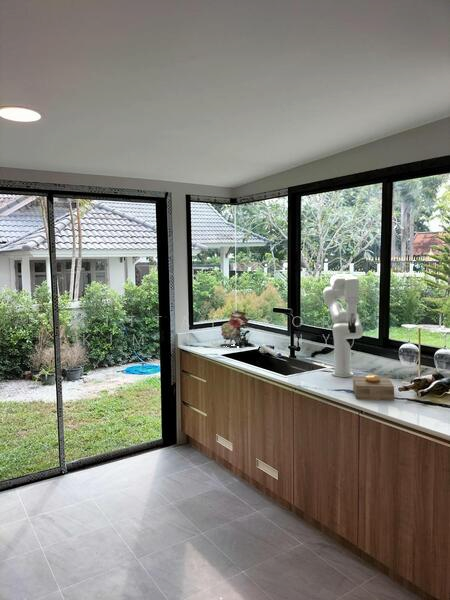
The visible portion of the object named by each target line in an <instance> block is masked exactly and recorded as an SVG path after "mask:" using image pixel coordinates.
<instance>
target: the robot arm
mask: <svg viewBox="0 0 450 600" xmlns="http://www.w3.org/2000/svg"><path fill="white" fill-rule="evenodd" d="M322 295H323V296H322V297H323V301H324V303H325V305H326V307H327V309H328V310H329V314H330V317H331V321H332V323H333V326H332V336H333V357H334V358H333V361H334V365H333V366H334V370H333V371H332V372H331V375H332V377H333V376H334V377H338V378H348V377H349V378H350V377H353V376H354V373H353V372H352V371H351V366H352V365H351V364H352V363H351V345H350V343H349V342H348V341H347V340H349V339H351V340H352V339H360V338H362V337H363V334H364V330H363V326H362V322H361V319H360V316H359V314H358V307H357V306H358V305H359V303H360V280H359V278H357V277H356V276H354V275H352V274H350V273H349V274H346V273H345V274H334V275H333V276H331V278H330V286H327V287H325V288H324V289H323V293H322ZM338 300H344V304H346V308H345V309H344V306H343V305H342V304H341V302H339V301H338Z"/></svg>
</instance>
